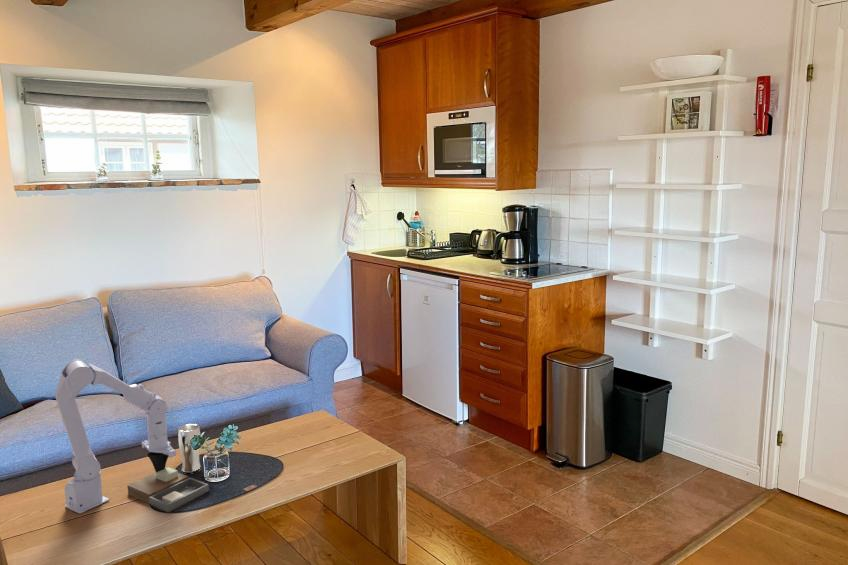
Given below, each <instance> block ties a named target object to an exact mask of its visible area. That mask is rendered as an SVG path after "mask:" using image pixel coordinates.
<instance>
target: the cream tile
mask: <svg viewBox="0 0 848 565" xmlns="http://www.w3.org/2000/svg"><path fill="white" fill-rule="evenodd" d="M182 496H184V495H183V494H181V493H178V492H176V491H174V492H172V493H170V494H168V495H166V496H163V497H162V501H163V502H165V503H170V502H172V501H174V500H176V499H178V498H180V497H182Z"/></svg>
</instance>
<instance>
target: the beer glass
mask: <svg viewBox="0 0 848 565" xmlns="http://www.w3.org/2000/svg"><path fill="white" fill-rule="evenodd" d="M194 435H200V436H201V430H200V426H199V425H198V424H196V423H195V424H194V423H188V424H184V425H181V426H179V428H178V434H177V436H178V447H179V451H180V455H181V459H182V461H181V462H182V466H181V472H182V471H183V472H193V471H196V470H198V469H200V467H201V468H202V466H201V462H200V452H201V451H200V450H201V447H200V448H199V449H197V450H193V448H192V446H191V444H190V440H191V439H192V438H193V437H194ZM200 470H201V469H200ZM183 472H182V473H183Z"/></svg>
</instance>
